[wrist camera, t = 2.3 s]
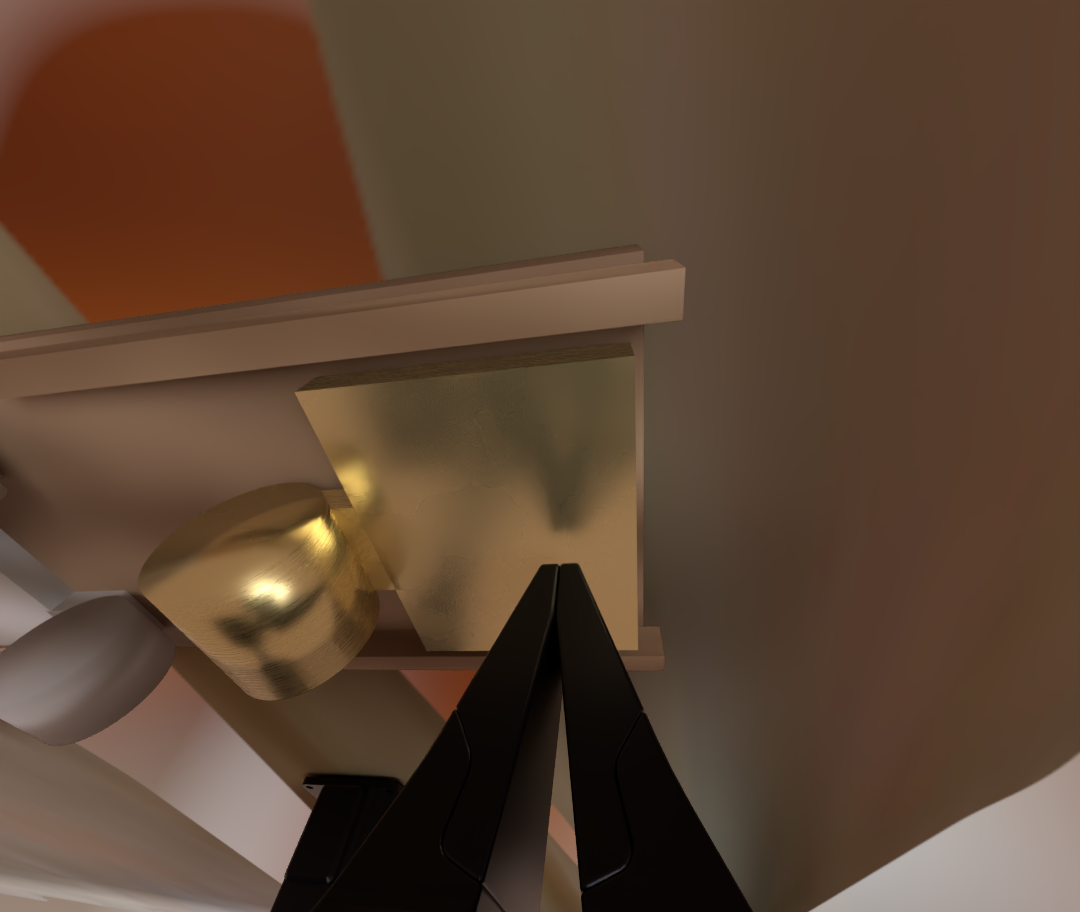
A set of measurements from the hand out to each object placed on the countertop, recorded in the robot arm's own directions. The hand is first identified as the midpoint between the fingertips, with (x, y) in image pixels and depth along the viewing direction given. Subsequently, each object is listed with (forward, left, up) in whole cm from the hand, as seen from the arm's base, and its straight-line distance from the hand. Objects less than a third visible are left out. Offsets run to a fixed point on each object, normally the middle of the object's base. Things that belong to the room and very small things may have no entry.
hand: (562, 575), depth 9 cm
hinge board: (0, +12, -3) cm, 12 cm away
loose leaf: (0, +4, -2) cm, 4 cm away
